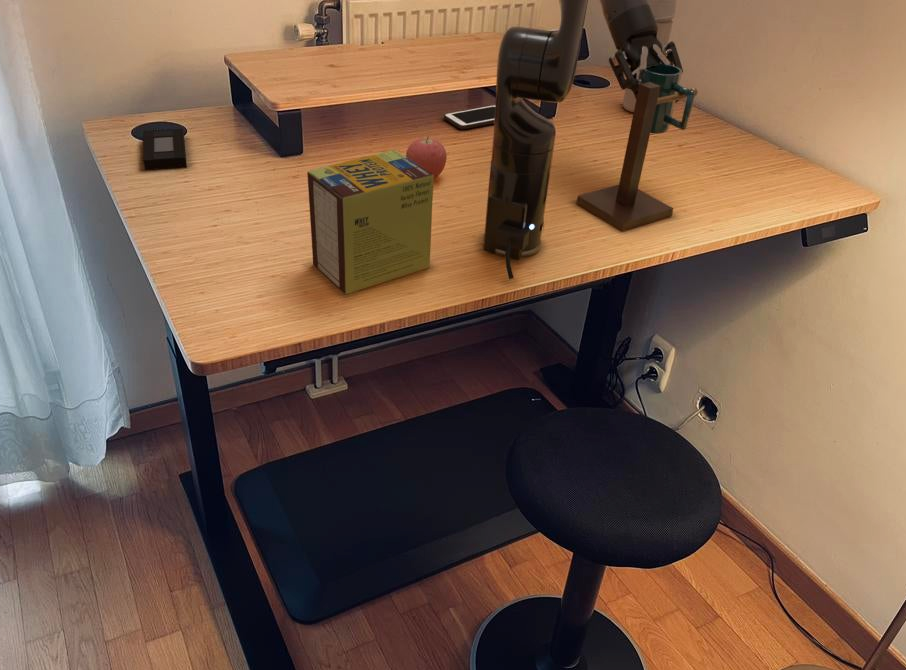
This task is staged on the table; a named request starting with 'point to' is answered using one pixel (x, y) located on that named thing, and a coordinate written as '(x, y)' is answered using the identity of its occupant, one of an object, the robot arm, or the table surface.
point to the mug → (669, 84)
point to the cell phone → (472, 117)
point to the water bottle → (663, 12)
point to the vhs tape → (164, 149)
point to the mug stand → (633, 171)
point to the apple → (428, 155)
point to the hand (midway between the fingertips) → (662, 104)
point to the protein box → (370, 219)
